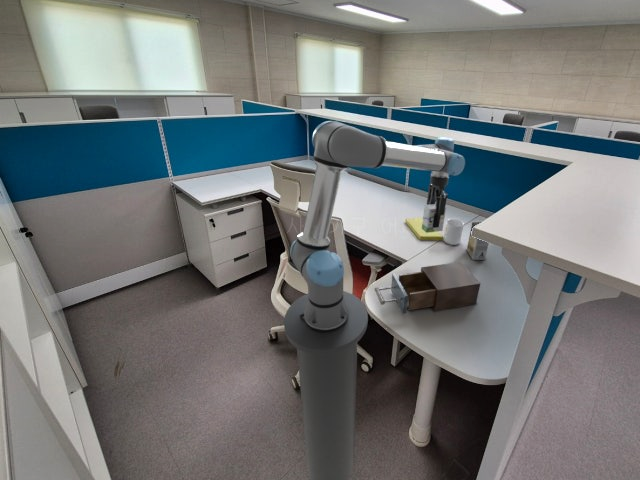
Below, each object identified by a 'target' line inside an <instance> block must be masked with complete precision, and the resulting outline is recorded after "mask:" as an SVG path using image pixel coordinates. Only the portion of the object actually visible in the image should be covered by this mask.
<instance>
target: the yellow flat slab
mask: <svg viewBox="0 0 640 480" xmlns="http://www.w3.org/2000/svg"><path fill="white" fill-rule="evenodd" d="M422 222H423V217H415V218H405V224H406V225H407V227H409V228H410V230H411V231H412V232H413V234H414V235H415V236H416V237H417V239H418V240H419V241H444V235H443V234H442V233H441V232H440V231H436V232H428V233H426V232H425V231H424V230H423V229H422Z"/></svg>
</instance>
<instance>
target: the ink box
mask: <svg viewBox="0 0 640 480" xmlns="http://www.w3.org/2000/svg"><path fill="white" fill-rule="evenodd" d="M446 210H447V207H446V206H445V212H444V215H441V217H440V223H439V227H436V228H433V221H434V213H436V203H435V204H429V205H427V204H425V205H424V207H423V216H422V218H423V222H422V229H423V230H424V231H425V232H426V233H428V232H436V231H439V232H442V231H443V229H444V223H445V218H446V212H447V211H446Z"/></svg>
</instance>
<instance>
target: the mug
mask: <svg viewBox="0 0 640 480" xmlns="http://www.w3.org/2000/svg"><path fill="white" fill-rule="evenodd" d="M464 225H465V224H464V222H463V221H462V220H459V219H454V218H449V219H447V220H446V221H445V225H444V226H445V227H444V232H443V241H444V242H445V244H447V245H451V246H457V245H459V244H460V243H461V241H462V236H463V231H464Z"/></svg>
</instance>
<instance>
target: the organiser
mask: <svg viewBox="0 0 640 480" xmlns="http://www.w3.org/2000/svg"><path fill="white" fill-rule="evenodd" d="M422 271H423V272H424V274H425V275H426V276H427V278H428V279H429V281H430V282H431V283H432V285H433V286H434V287H435V289H436V290H437V292H436V298H435V304H434V306H431V308H432V309H433V311H434V312H437V311H442V310H448V309H455V308H458V307H459V308H460V307H464V306H471V305H476V304H477V300H478V297H479V292H480V287H481V282H480V281H479V280H478V279H477V278H476V277H475V276H474V274H472V273H471V271H469V270H468V269H467V267H465V265H464V264H463V263H462V262H461V261H459V262H450V263H442V264H435V265H428V266H421V267H420V272H422Z"/></svg>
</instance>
